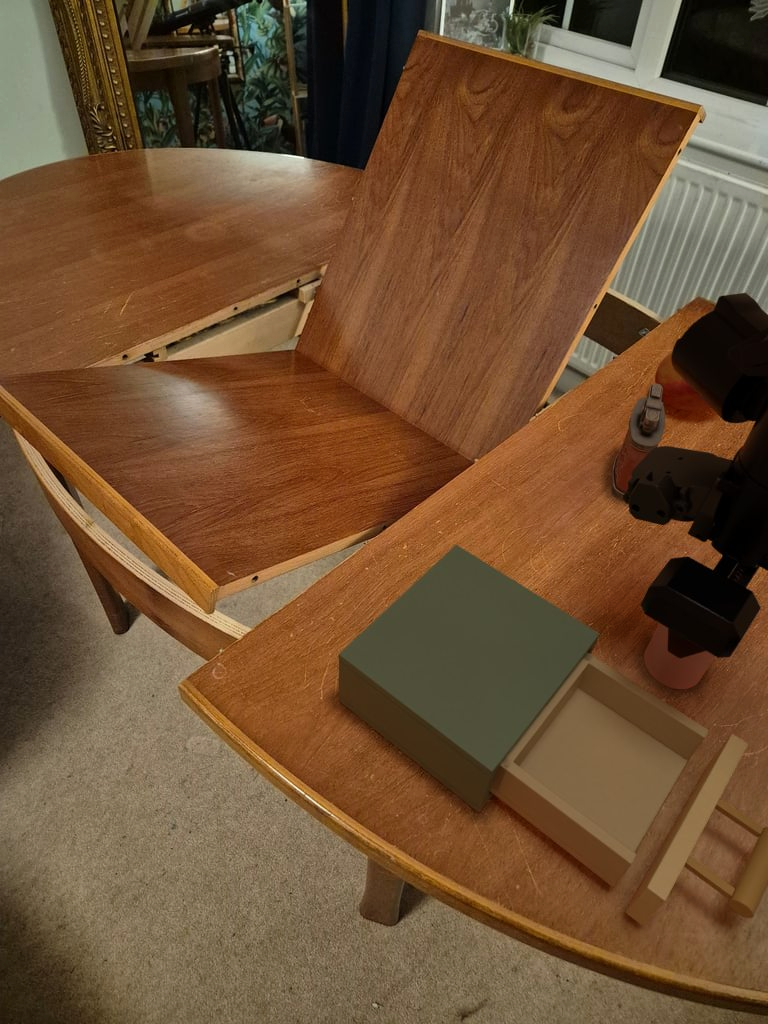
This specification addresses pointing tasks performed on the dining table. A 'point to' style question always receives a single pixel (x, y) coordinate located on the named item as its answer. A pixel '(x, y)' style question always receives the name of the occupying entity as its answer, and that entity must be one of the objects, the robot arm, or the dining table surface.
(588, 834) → the drawer
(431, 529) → the dining table surface
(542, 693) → the cabinet
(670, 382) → the fruit
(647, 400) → the brown elongated piece
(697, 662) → the red cylinder
